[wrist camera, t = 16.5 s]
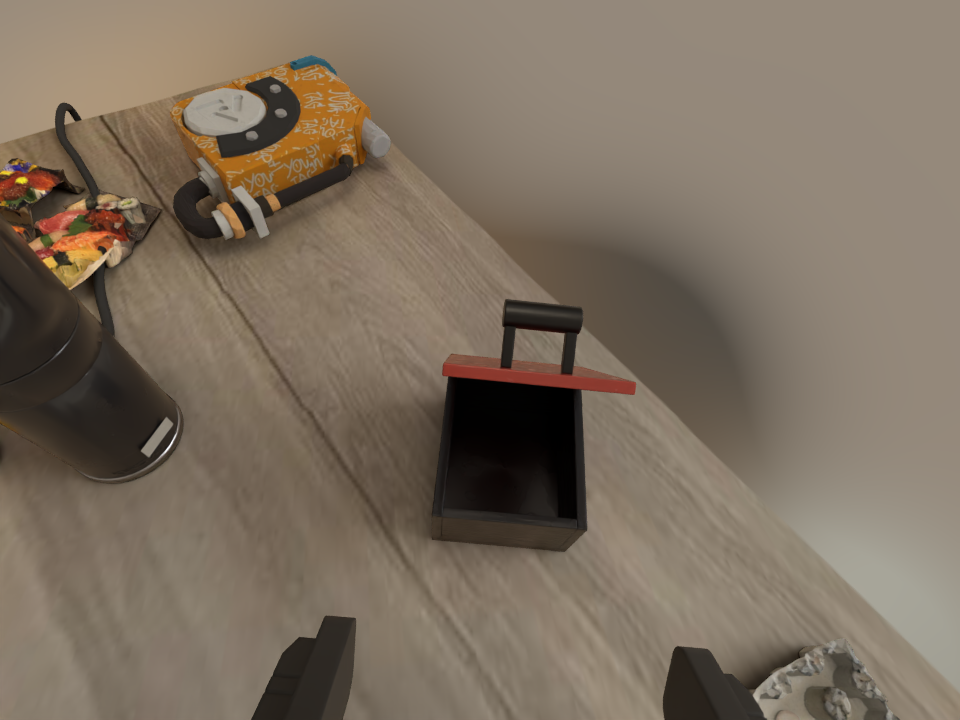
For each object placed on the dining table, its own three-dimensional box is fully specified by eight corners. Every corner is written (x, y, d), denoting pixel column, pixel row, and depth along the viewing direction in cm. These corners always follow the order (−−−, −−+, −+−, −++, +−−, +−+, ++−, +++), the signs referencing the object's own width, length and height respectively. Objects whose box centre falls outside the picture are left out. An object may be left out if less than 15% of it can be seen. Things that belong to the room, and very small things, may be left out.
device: (420, 121, 64) (186, 220, 52) (421, 176, 71) (215, 274, 59) (321, 40, 72) (98, 110, 60) (331, 97, 79) (133, 170, 67)
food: (175, 214, 64) (162, 191, 61) (66, 329, 54) (44, 308, 51) (22, 168, 66) (2, 144, 63) (-110, 271, 56) (-141, 247, 53)
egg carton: (782, 805, 38) (817, 818, 34) (720, 693, 41) (746, 695, 38) (884, 733, 41) (927, 739, 37) (818, 634, 44) (851, 631, 40)
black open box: (565, 551, 46) (587, 530, 39) (431, 539, 46) (431, 516, 39) (562, 411, 53) (580, 374, 47) (447, 400, 53) (450, 360, 46)
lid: (635, 395, 32) (644, 311, 31) (442, 375, 31) (450, 290, 31) (581, 375, 46) (588, 318, 46) (449, 362, 46) (455, 304, 46)
